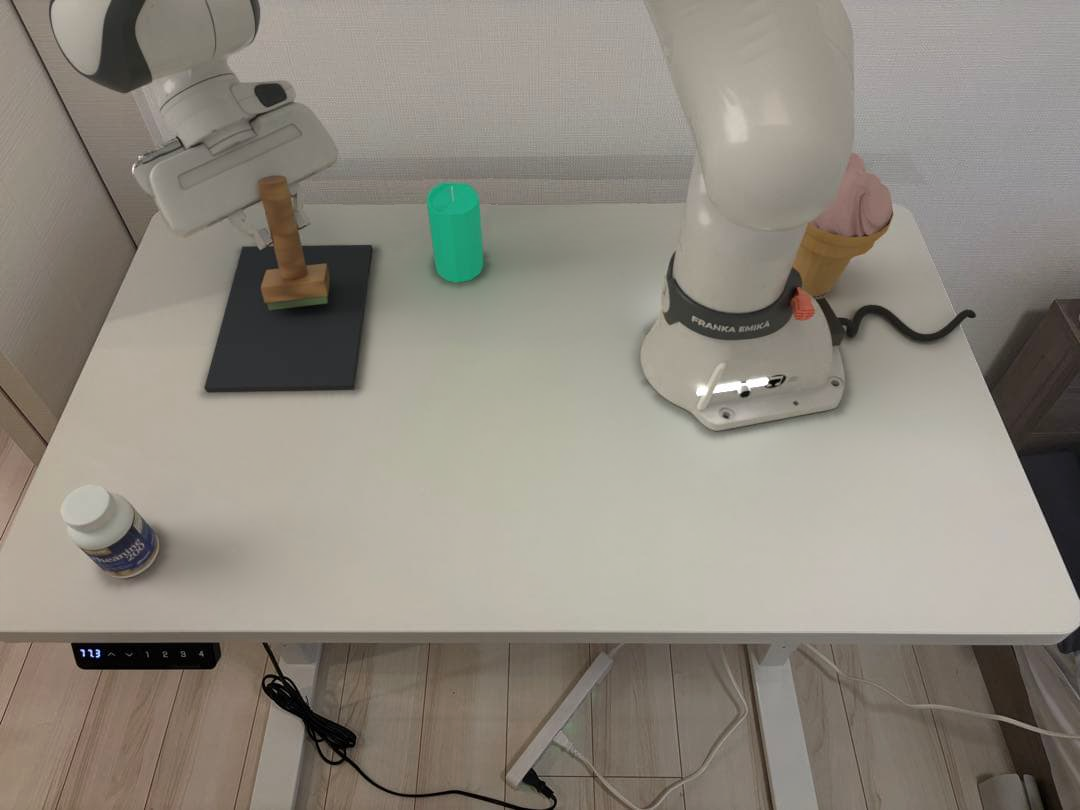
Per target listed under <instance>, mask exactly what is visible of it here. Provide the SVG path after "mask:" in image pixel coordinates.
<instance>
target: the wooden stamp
mask: <svg viewBox="0 0 1080 810" xmlns="http://www.w3.org/2000/svg"><path fill="white" fill-rule="evenodd" d="M258 186H259V190H260V194H261V198H262V201H261V202H262V206H263V210H264V213H265V218H266V222H267V225H268V230H269V235H270V237H271V238H272V240H273V242H274V243H273V244H272V246H273V247H274V251H275V255H276V259H277V263H278V267H279V269H271V270H266V273H265V276H264V279H263V282H262V285H261V291H262V294H263V298H264V302H265V303H267V305H268V309H269V310H275V309H284V308H292V307H301V306H310V305H318V304H327V303H328V297H329V290H330V285H329V282H330V276H329V271H328V267H327V263H325V264H316V265H307V266H306V262H305V258H304V254H303V249H302V246H303V245H302V241H301V236H300V232H299V231H298V227H297V223H296V219H295V214H294V208H293V200H292V198H291V197H290V192H289V188H288V184H287V179H286V177H285V176H279V175H276V176H268V177H264V178H261V179H259V180H258Z"/></svg>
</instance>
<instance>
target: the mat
mask: <svg viewBox="0 0 1080 810" xmlns="http://www.w3.org/2000/svg"><path fill="white" fill-rule="evenodd" d="M302 249H303V254H304V258H305V262H306V266H307V265H316V264H325V263H327V267H328V271H329V276H330V282H329V285H330V290H329V297H328V303H327V304H318V305H310V306H301V307H292V308H284V309H275V310H269V309H268V305H267V303H265V302H264V298H263V294H262V291H261V285H262V282H263V279H264V276H265V273H266V270H271V269H279V267H278V263H277V259H276V255H275V251H274V247H273V245H270V246H268V247H266V248H264V249H262V250H260V249H259V248H258V247H257V245H251V246H250V245H247V246H246V245H245V246H242V247H241V250H240V254H239V258H238V262H237V265H236V269H235V272H234V277H233V280H232V282H231V283H232V284H231V288H230V291H229V295H228V299H227V303H226V306H225V309H224V313H223V316H222V321H221V326H220V328H219V331H218V336H217V340H216V344H215V347H214V351H213V355H212V358H211V362H210V366H209V369H208V372H207V377H206V381H205V384H204V390H205V392H207V393H226V392H228V393H229V392H231V393H233V392H283V391H284V392H285V391H287V392H288V391H289V392H291V391H339V390H342V391H344V390H346V391H347V390H355V383H356V376H357V369H358V361H359V355H360V353H359V352H360V345H361V338H362V330H363V323H364V316H365V315H364V314H365V309H366V301H367V293H368V284H369V278H370V271H371V263H372V255H373V246H372V244H338V245H337V244H335V245H334V244H332V245H331V244H329V245H326V244H324V245H321V244H320V245H302Z"/></svg>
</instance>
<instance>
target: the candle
mask: <svg viewBox="0 0 1080 810" xmlns="http://www.w3.org/2000/svg"><path fill="white" fill-rule="evenodd" d="M426 205H427V212H428V220H429V227H430V228H429V229H430V233H431V234H430V235H431V244H432V250H433V258H434V265H435V266H434V267H435V269H436V273H437V275H439V276H440V277H441V278H442V279H444V280H445V281H449V282H453V283H463V282H468V281H472V280H473V279H474V278H477V277H478V276H479V275H480V274H481V272H482V270H483V268H484V264H485V263H484V250H483V249H484V248H483V233H482V220H481V219H482V218H481V201H480V196H479V194H478V192H477V190H475V189H474V188H473V186H471V185H470V184H469V183H466V182H465V183H463V182H440V183H439V184H438V185H435V186H434V187H432V188H431V189H430V190H429V192H428V195H427V196H426Z"/></svg>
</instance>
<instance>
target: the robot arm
mask: <svg viewBox="0 0 1080 810" xmlns="http://www.w3.org/2000/svg"><path fill="white" fill-rule="evenodd" d="M841 1H842V0H642V2H643V4H644V6H645V9H646V11H647V14H648V16H649V18H650V21H651V23H652V25H653V28H654V31H655V34H656V36H657V39H658V42H659V44H660V48H661V51H662V54H663V57H664V60H665V63H666V66H667V69H668V72H669V76H670V79H671V81H672V84H673V87H674V90H675V93H676V97H677V99H678V101H679V104H680V107H681V109H682V112H683V114H684V118H685V119H686V122H687V125H688V129H689V131H690V135H691V136H692V139H693V143H694V146H695V151H694V152H695V153H694V158H693V163H692V168H691V174H690V177H689V178H690V179H689V183H688V189H687V194H686V199H685V204H684V209H683V214H682V218H681V223H680V228H679V233H678V239H677V244H676V248H675V250H674V252H673V253H672V255H671V257H670V260H669V263H668V266H667V270H666V274H665V276H664V278H663V279H664V280H663V285H662V290H661V297H660V307H661V308H660V311H659V312H658V315H657V318H656V319H655V322H654V324H653V326H652V327H651V328H650V330H649V332H648V333H647V335H646V336H645V338H644V339H643V341H642V344H641V347H640V353H639V357H640V359H639V361H640V365H641V370H642V372H643V374H644V376H645V378H646V380H647V381H648V383H649V384H650V386H651V387H652V388H653V389H654V390H655V391H656V392H657V393H658V394H659V395H660V396H661V397H663V398H664V399H666V400H667V401H669V402H670V403H672V404H674V405H676V406H677V407H679V408H682V409H684V410H686V411H688V412H689V413H691V414H692V415H693V416H694V417H695V418H696V419H697V420H698V421H699V422H700V423H701V424H702V425H703V426H704V427H705V428H707V429H708V430H710V431H715V432H720V431H726V430H731V429H736V428H741V427H746V426H747V427H748V426H752V425H757V424H763V423H766V422H773V421H778V420H783V419H789V418H794V417H800V416H803V415H808V414H809V415H810V414H815V413H819V412H824V411H830V410H834V409H836V408H838V406H839V404H840V403H841V400H842V398H843V394H844V391H845V384H846V376H845V368H844V363H843V359H842V356H841V352H840V349H839V347H838V346H840V345H841V343H842V341H843V340H844V337H845V335H846V336H847V337H848V338H854V337H855V336H856V335H857V334H858V332H859V327H860V326H861V325H860V324H861V322H862V320H863V317H864V316H865V315H866V314H868V313H875V314H879V315H881V316H882V317H884V318H885V319H886V320H887V321H889V322H890V323H891V324H892V325H893V326H894V327H895V328H896V329H897V330H898V331H899V332H900V333H902V334H903V335H905V336H906V337H908V338H910V339H911V340H914V341H917V342H925V343H926V342H928V343H929V342H934V341H938V340H940V339H942V338H944V337H946V336H948V335H949V334H951V333H952V332H953V331H954V330H956V329H957V327H958V326H960V324H961V323H962V322H963V321H965V320H966V319H967V318H969V319H975V318H976V317H977V313H976V312H975V311H974V310H972V309H967V308H965V309H964V310H962V311H960V312H959V313H958V314H957V315H956V316H955V317H954V318H953V319H952V320H951V321H950V322H948V324H947V325H946V326H944V327H942V328H941V329H940V330H938V331H936V332H935V331H934V332H932V333H921V332H918V331H916V330H913V329H912V328H910V327H909V326H908V325H906V323H904V322H903V321H902V320H901V319H900V318H899V317H898V316H897V315H896V314H894V313H893V312H892V311H891V310H889V309H887V308H886V307H884V306H882V305H878V304H867V305H864V306H862V307H860V308H859V309H858V310H857V311H856V312H855V314H854V315H853V318H852V319H850V318H847V317H841V316H837V314H836V312H834V310H833V308H832V307H831V305H830V304H829V301H828V300H827V299H826V297H821V298H814V296H811V295H810V294H809V293H807V292H806V291H803V290H801V288H802V285H803V283H802V279H801V276H800V274H799V272H798V271H797V270H796V269H795V268H794V264H793V263H794V261H795V258H796V255H797V252H798V250H799V247H800V244H801V241H802V239H803V236H804V234H805V231H806V228H807V225H808V223H809V222H811V221H813V220H814V219H816V218H817V217H818V216H820V215H821V214H822V213H823V212H824V211H825V210H826V209H827V208H828V207H829V206H830V205H831V204H832V202H833V201H834V199H835V197H836V196H837V194H838V191H839V189H840V186H841V183H842V180H843V178H844V175H845V172H846V169H847V166H848V162H849V159H850V156H851V152H853V148H854V143H855V50H854V49H855V46H854V45H855V44H854V43H855V42H854V41H855V39H854V32H853V27H852V23H851V21H850V18H849V16H848V14H847V12H846V9H845V7H844V5H843V3H842V2H841ZM48 18H49V24H50V29H51V31H52V35H53V37H54V40H55V42H56V44H57V47H58V49H59V51H60V52H61V54H62V55H63V57H64V59H65V60H66V61H67V63H68V64H69V65H70V66H71V67H72V68H73V69H74V70H75V71H76V72H77V73H78V74H80V75H81V76H83V77H84V78H85V79H88V80H89V81H91V82H93V83H95V84H97V85H99V86H101V87H103V88H106V89H109V90H111V91H114V92H117V93H120V94H123V95H125V94H128V93H131V92H134V91H135V90H137V89H140V88H143V87H145V86H147V87H148V88H149V90H150V92H151V94H152V95H153V97H154V100H155V103H156V106H157V109H158V111H159V113H160V114H161V116H162V117H163V119H164V120H165V122H166V124H167V126H168V127H169V129H170V131H171V132H172V133H173V135H174V137H175V138H172V139H169V140H167V141H165V142H163V143H161V144H159V145H158V146H155V147H154V148H151V149H147V150H144V151H142V152H140V153H139V154H138V155H137V159H136V160H135V161H134V162H133V164H132V167H131V174H132V177H133V179H134V181H135V182H136V184H137V186H138V187H139V188H140V190H141V191H142V192H143V193H144V194H145V195H146V196H148V197H150V198H153V200H154V203H155V205H156V207H157V210H158V213H160V216H161V218H162V219H163V221H164V223H165V225H166V227H167V228H168V230H169V232H170V233H171V234H172V235H173V236H174V237H177V238H180V239H182V240H183V239H187V238H189V237H192V236H193V235H196V234H198V233H200V232H201V231H204V230H205V229H208V228H209V227H213V225H216V224H218V223H220V222H222V221H224V220H226V219H227V220H228V221H229V223H230V224H231V226H232V227H233V228H234V229H235V230H237V231H239V232H241V233H243V234H244V235H246V236H248V237H250V238H251V239H252V240H253V242H254V244H255V246H257V247H258V248H259V249H260V250H262V249H264V248H266V247H268V246H272V245H273V243H274V242H273V240H272V238H271V235H270V232H269V231H268V230H267V228H266V227H264V228H262V229H260V230H258V229H257V228H255V227H254V226H252V225H250V224H248V223H247V222H245V221H246V219H247V215H246V213H245V212H244V210H247V209H248V208H251V207H252V206H255V205H256V204H259V203H260V202H262V198H261V194H260V190H259V186H258V180H259V179H261V178H264V177H268V176H276V175H279V176H285V177H286V179H287V184H288V188H289V192H290V197H291V199H292V205H293V210H294V214H295V219H296V223H297V227H298V232H299V231H300V230H302V229H304V228H306V227H309V225H311V222H310V220H309V218H308V216H307V214H306V212H305V210H304V190H303V188H302V187H301V185H300V183H301V182H303V181H306V180H307V179H310V178H311V177H313V176H316V175H317V174H319V173H321V172H324V171H326V170H327V169H330V168H331V167H332V166H334V165H335V164H336V162H337V161H338V156H339V149H338V147H337V145H336V143H335V141H334V139H333V137H332V136H331V135H330V133H329V131H328V130H327V128H326V127H325V126H324V124H323V123H322V121H321V120H320V119H319V118H318V116H317V115H316V113H315V112H314V111H313V110H312V109H311V108H310V107H309V106H308V105H306V104H304V103H301V102H297V101H296V102H295V100H296V98H297V93H296V90H295V88H294V86H293V85H292V83H291V82H290V81H288V80H269V81H268V80H267V81H254V82H253V81H249V82H247V81H246V82H241V81H240V79H239V78H238V76H237V74H235V72H234V71H233V70H232V69H231V67H230V66H229V64H228V59H229V57H230V56H232V55H235V54H238V53H239V52H241V51H242V50H244V49H246V48H247V47H249V46H250V45H251V44H252V43H253V42H254V41H255V39H256V37H257V34H258V31H259V28H260V23H261V5H260V1H259V0H49V5H48ZM140 164H142V165H140ZM845 327H846V329H845Z"/></svg>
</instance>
